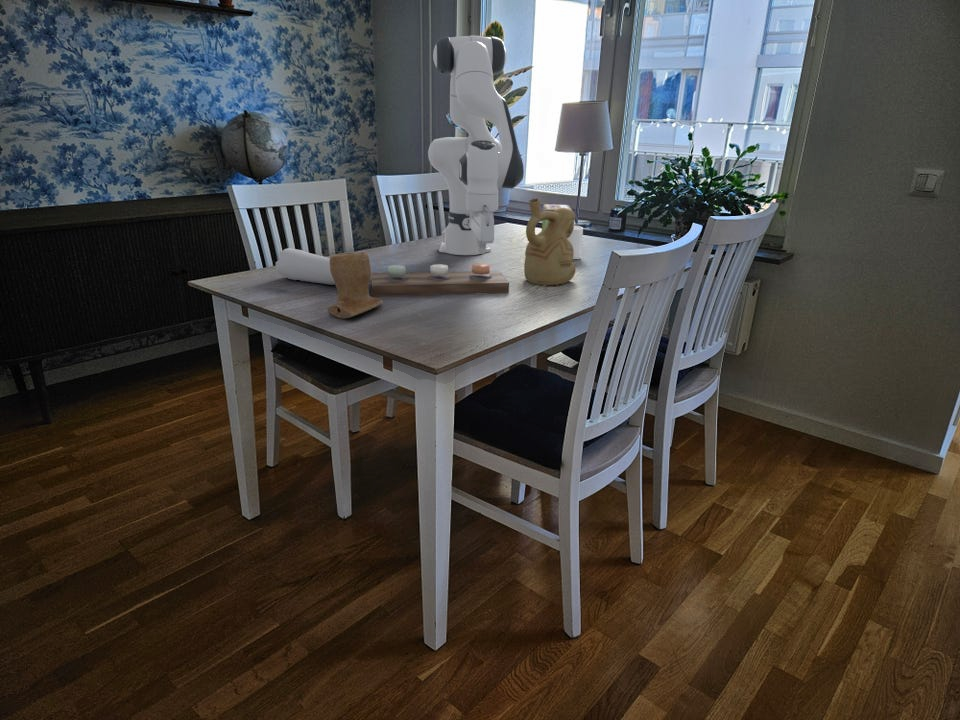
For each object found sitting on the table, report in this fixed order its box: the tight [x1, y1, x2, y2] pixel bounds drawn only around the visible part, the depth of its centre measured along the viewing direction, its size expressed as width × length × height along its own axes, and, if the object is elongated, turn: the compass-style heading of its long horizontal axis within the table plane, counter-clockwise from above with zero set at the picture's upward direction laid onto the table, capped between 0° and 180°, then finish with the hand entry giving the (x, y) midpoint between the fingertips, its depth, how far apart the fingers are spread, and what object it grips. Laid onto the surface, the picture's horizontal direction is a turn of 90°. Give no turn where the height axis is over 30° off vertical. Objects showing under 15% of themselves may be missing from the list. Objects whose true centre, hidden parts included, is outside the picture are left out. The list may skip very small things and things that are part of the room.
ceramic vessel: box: [523, 198, 577, 286], centre depth 185 cm, size 17×20×25 cm
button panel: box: [371, 270, 510, 297], centre depth 179 cm, size 14×38×3 cm, turn 99°
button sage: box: [387, 264, 407, 276], centre depth 176 cm, size 5×5×2 cm
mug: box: [567, 225, 584, 260], centre depth 216 cm, size 9×12×11 cm
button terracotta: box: [471, 263, 491, 275], centre depth 180 cm, size 5×5×2 cm
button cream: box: [430, 263, 449, 275], centre depth 178 cm, size 5×5×2 cm
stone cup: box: [326, 251, 384, 319], centre depth 155 cm, size 15×12×15 cm
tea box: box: [541, 203, 573, 231], centre depth 237 cm, size 15×10×15 cm, turn 178°
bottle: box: [275, 247, 372, 286], centre depth 180 cm, size 9×9×30 cm
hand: (481, 252), depth 178 cm, fingers closed
